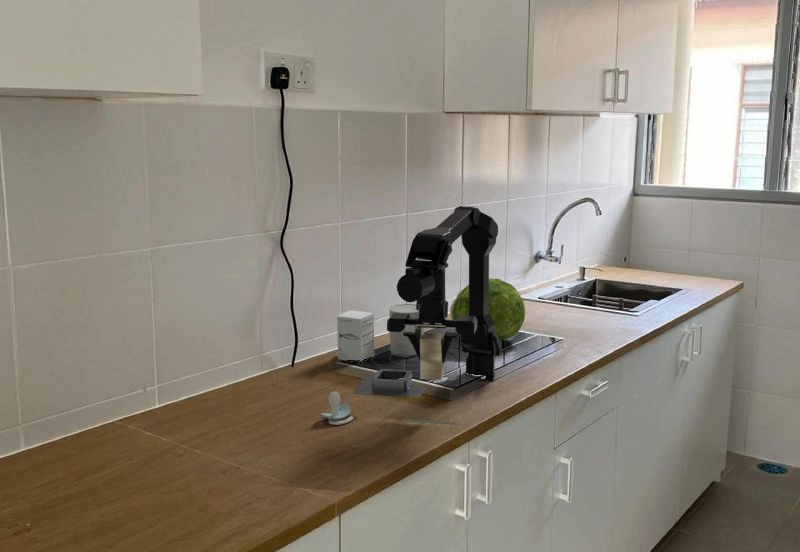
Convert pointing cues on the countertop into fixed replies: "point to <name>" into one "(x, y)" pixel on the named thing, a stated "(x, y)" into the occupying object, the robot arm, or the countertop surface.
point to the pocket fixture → (389, 384)
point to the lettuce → (496, 307)
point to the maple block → (431, 356)
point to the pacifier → (337, 410)
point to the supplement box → (355, 335)
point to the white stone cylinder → (397, 340)
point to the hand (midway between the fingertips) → (432, 362)
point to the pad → (428, 421)
